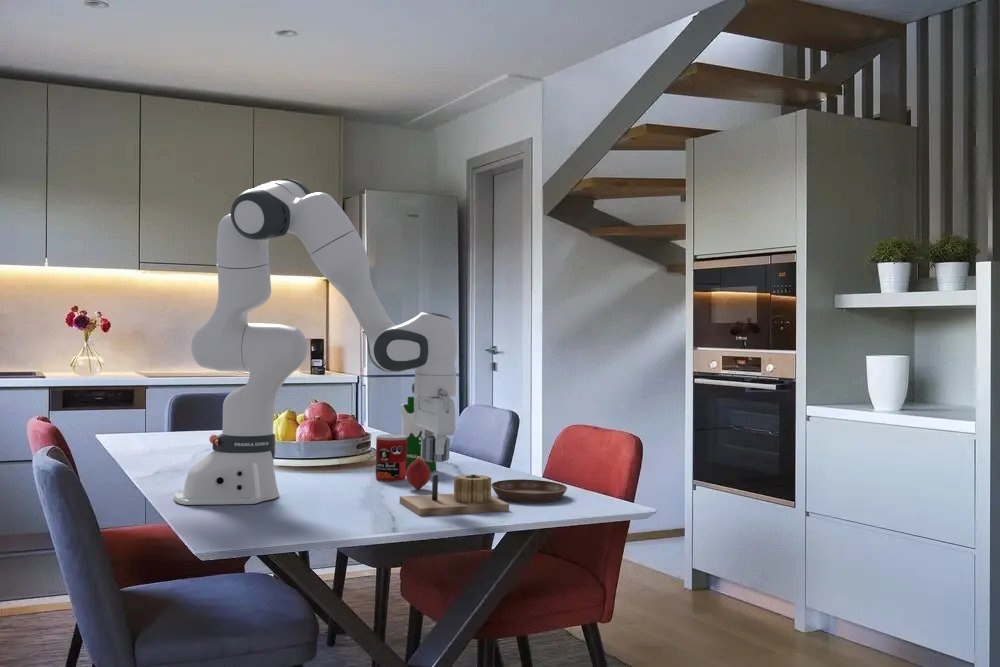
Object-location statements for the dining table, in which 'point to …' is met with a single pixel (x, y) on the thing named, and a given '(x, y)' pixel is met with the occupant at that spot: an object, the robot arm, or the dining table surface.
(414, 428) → the milk carton
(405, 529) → the dining table surface
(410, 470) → the onion
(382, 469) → the canned food
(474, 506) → the gear board
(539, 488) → the plant saucer
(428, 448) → the steel gear
